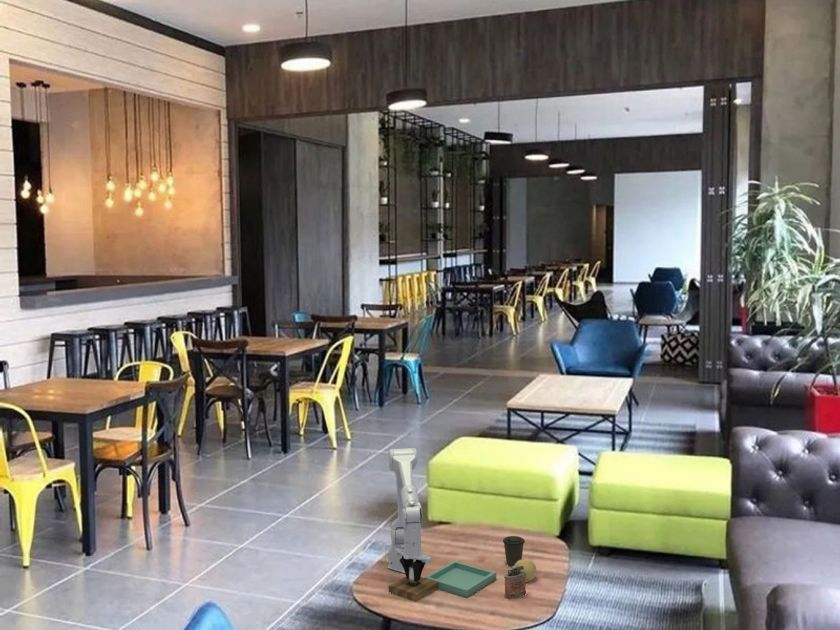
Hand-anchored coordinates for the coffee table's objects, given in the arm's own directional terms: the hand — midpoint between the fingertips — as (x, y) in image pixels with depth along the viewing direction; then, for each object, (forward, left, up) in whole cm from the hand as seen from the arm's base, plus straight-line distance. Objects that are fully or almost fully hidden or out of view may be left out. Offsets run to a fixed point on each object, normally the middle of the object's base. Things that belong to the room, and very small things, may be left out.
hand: (413, 579), depth 279 cm
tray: (+9, +15, -4) cm, 18 cm away
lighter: (+30, +17, -4) cm, 35 cm away
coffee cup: (+16, +39, -4) cm, 42 cm away
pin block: (0, 0, -4) cm, 4 cm away
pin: (0, 0, -3) cm, 3 cm away
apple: (+26, +30, -4) cm, 40 cm away
